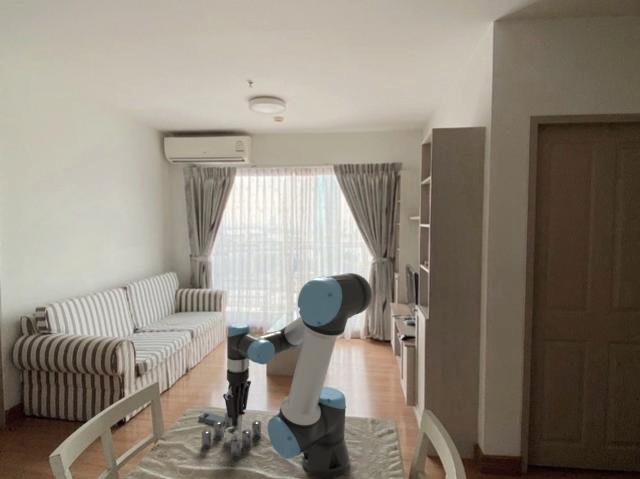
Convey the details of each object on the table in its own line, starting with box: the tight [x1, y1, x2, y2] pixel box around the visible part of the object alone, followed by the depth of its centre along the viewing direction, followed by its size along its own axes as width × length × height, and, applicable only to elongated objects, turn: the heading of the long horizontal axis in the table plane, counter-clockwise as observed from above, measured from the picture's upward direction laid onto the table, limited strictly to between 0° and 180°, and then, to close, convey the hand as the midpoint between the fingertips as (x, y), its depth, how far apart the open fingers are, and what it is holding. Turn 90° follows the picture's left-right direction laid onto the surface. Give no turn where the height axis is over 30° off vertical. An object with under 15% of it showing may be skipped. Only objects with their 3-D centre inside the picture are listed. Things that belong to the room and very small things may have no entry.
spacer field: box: [201, 412, 262, 461], centre depth 121 cm, size 15×15×5 cm
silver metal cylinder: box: [223, 427, 240, 448], centre depth 121 cm, size 5×5×4 cm
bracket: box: [198, 411, 225, 426], centre depth 133 cm, size 4×10×2 cm, turn 70°
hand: (236, 432), depth 124 cm, fingers closed
